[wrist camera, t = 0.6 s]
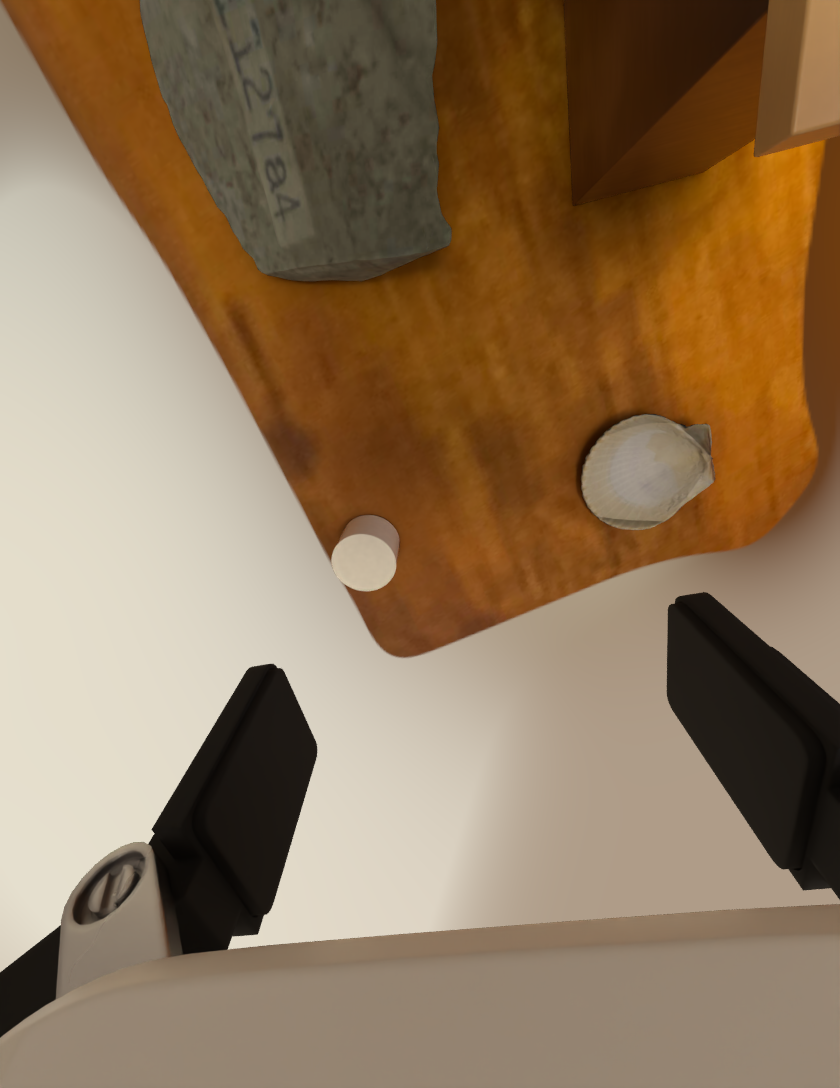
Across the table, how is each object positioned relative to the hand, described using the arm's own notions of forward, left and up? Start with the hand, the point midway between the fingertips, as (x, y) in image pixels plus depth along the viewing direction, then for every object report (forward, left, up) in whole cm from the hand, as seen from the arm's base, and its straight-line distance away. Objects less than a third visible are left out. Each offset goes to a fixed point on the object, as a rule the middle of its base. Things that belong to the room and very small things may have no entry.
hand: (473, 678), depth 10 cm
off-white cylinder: (+5, -7, -22) cm, 24 cm away
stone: (-21, -4, -22) cm, 30 cm away
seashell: (+3, +13, -22) cm, 26 cm away
